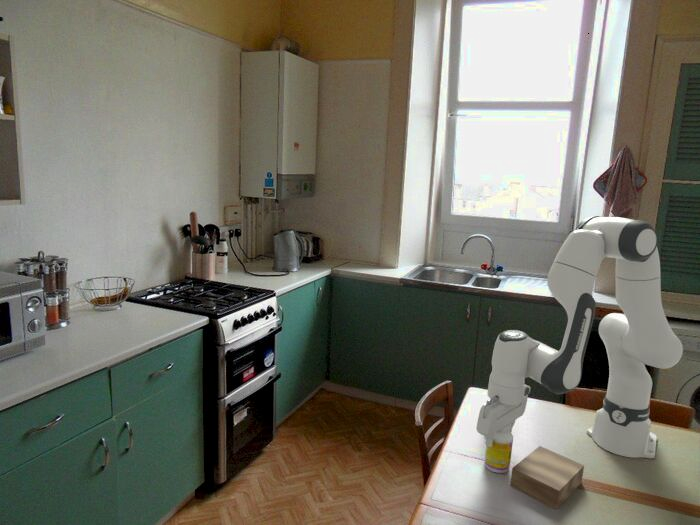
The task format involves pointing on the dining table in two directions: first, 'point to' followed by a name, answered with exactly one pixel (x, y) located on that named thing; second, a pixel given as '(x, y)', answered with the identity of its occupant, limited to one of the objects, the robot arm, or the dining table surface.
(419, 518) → the dining table surface
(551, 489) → the walnut stand
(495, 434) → the supplement bottle
